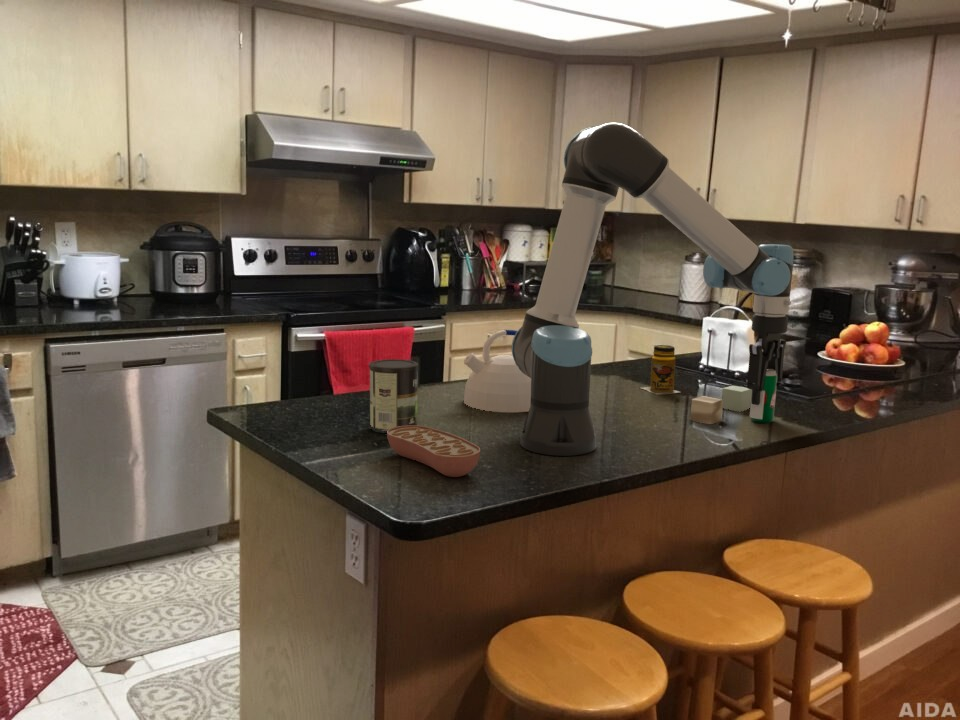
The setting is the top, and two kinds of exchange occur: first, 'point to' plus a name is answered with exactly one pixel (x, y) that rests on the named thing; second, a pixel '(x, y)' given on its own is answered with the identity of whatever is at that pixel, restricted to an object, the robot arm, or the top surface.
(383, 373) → the coffee can
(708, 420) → the maple block
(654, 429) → the top surface
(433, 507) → the top surface
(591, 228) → the robot arm
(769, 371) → the soda can
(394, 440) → the anatomical model
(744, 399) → the sage block
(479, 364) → the kettle
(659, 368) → the condiment
